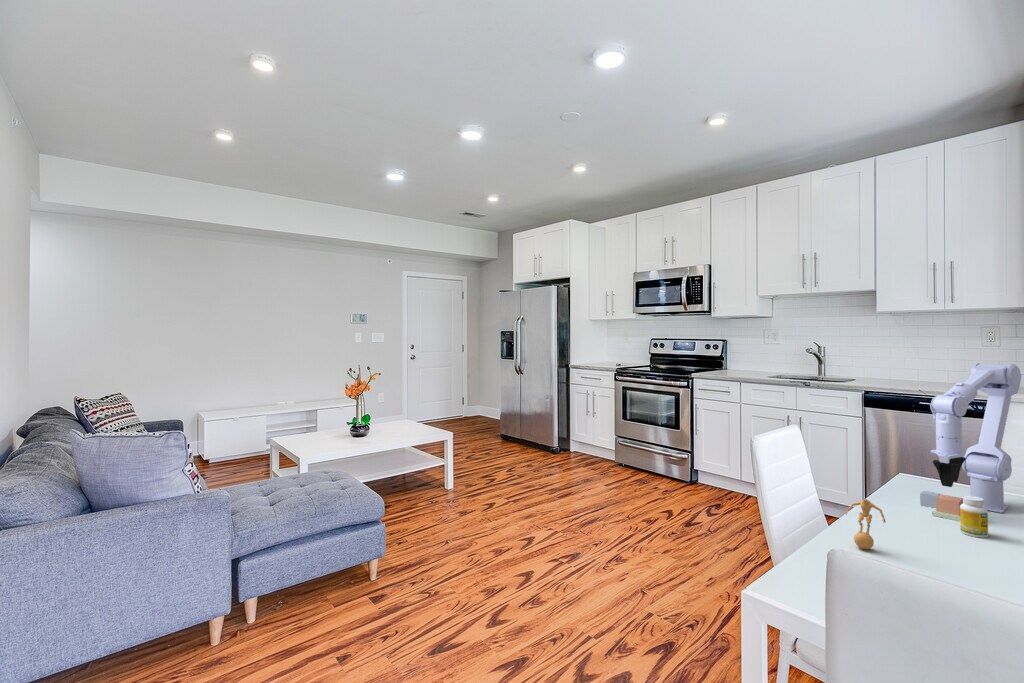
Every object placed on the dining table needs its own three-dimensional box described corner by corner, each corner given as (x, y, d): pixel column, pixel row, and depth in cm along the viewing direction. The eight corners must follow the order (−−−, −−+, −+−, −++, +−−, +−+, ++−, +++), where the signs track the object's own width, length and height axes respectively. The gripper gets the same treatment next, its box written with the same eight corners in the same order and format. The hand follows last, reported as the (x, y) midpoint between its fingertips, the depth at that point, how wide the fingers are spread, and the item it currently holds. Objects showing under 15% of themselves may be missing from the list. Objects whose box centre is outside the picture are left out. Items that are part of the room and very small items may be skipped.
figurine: (841, 545, 123) (841, 498, 123) (849, 539, 127) (848, 493, 127) (882, 556, 117) (881, 506, 117) (888, 549, 121) (888, 500, 121)
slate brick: (923, 503, 153) (923, 490, 153) (940, 506, 150) (940, 493, 150) (920, 506, 151) (920, 493, 151) (937, 509, 148) (936, 496, 148)
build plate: (938, 510, 147) (938, 506, 147) (969, 516, 141) (969, 512, 141) (932, 515, 142) (931, 511, 142) (964, 522, 137) (964, 518, 137)
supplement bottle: (964, 528, 132) (963, 493, 132) (991, 535, 128) (990, 498, 128) (957, 533, 129) (956, 497, 129) (984, 540, 125) (984, 502, 125)
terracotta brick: (940, 507, 146) (940, 494, 146) (963, 512, 142) (963, 498, 142) (936, 511, 142) (936, 497, 142) (959, 516, 139) (959, 501, 139)
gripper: (936, 431, 150) (937, 476, 150) (925, 438, 141) (926, 485, 141) (967, 435, 144) (968, 480, 144) (958, 442, 135) (959, 491, 135)
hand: (949, 483), depth 142 cm, fingers open, 7 cm apart
